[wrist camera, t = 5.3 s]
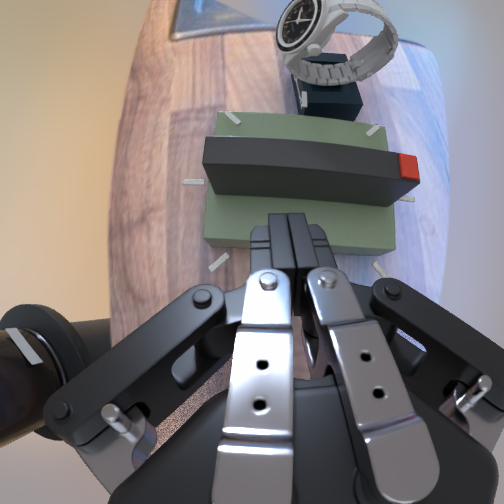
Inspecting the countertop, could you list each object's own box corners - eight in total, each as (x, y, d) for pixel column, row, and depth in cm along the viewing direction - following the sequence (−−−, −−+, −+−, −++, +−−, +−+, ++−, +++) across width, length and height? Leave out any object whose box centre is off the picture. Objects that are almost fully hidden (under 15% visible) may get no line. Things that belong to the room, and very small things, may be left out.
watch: (268, 76, 23) (272, -26, 12) (356, 77, 23) (391, -12, 12) (276, 127, 22) (286, 18, 11) (371, 127, 22) (426, 37, 11)
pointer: (214, 194, 18) (200, 162, 13) (217, 171, 18) (204, 132, 14) (387, 207, 18) (423, 182, 13) (386, 184, 18) (419, 154, 13)
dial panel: (183, 304, 20) (170, 305, 17) (205, 111, 22) (198, 88, 19) (396, 313, 20) (416, 315, 17) (386, 127, 22) (400, 107, 19)
